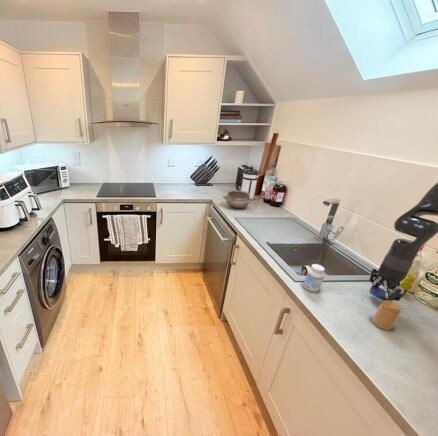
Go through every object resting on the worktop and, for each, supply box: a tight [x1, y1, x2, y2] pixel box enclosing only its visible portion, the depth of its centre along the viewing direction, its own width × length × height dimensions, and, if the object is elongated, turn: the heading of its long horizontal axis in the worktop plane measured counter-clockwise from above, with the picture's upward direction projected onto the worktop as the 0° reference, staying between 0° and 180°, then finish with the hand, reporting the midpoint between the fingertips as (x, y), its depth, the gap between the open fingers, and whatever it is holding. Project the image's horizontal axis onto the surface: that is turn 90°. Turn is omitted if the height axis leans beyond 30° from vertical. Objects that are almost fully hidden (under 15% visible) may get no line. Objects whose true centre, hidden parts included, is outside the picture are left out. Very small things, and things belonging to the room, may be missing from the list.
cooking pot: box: [222, 189, 255, 210], centre depth 196 cm, size 25×19×12 cm
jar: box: [372, 300, 402, 331], centre depth 85 cm, size 5×5×9 cm
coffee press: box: [235, 166, 260, 201], centre depth 213 cm, size 17×16×30 cm
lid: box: [370, 287, 391, 301], centre depth 96 cm, size 6×6×2 cm
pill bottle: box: [302, 263, 326, 293], centre depth 103 cm, size 6×6×11 cm
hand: (378, 298), depth 97 cm, fingers closed on lid, 6 cm apart
